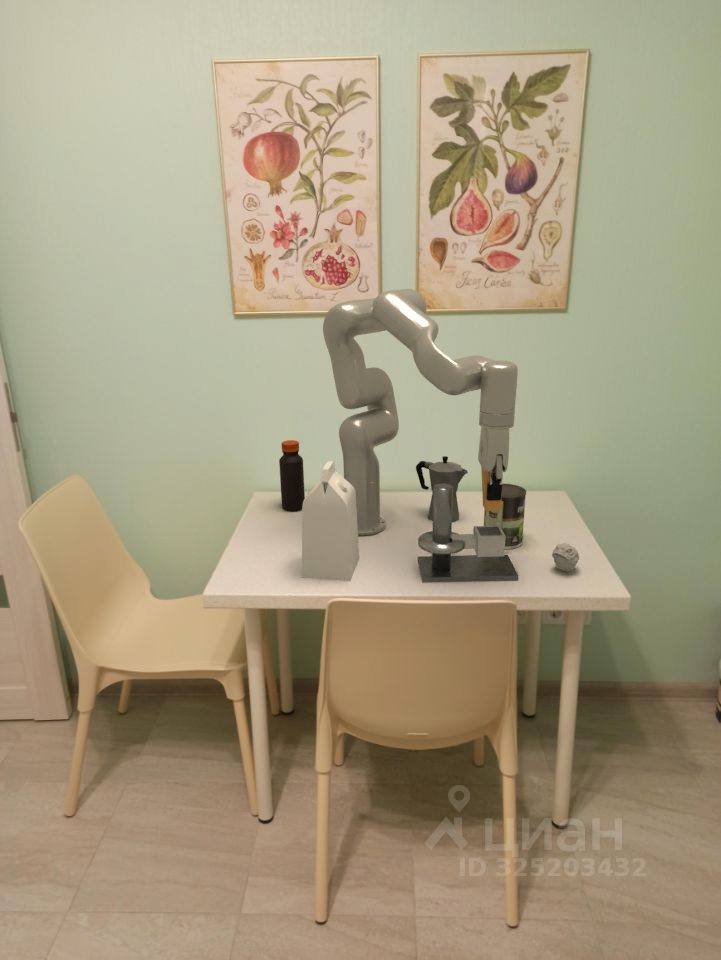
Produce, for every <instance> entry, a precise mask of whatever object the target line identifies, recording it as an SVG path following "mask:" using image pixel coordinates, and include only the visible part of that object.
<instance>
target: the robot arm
mask: <svg viewBox="0 0 721 960" xmlns="http://www.w3.org/2000/svg"><path fill="white" fill-rule="evenodd" d="M426 313H427V302H426V300H425V298H424V296H423V295H422V294H421V293H420V292H419V291H417V290H415V289H411V288H403V289H393V290H386V291H383V292H382V293H380V294H378V295H377V296H376V297H373V298H364V299H355V300H347V301H343V302H340V303H336V305H334V306H332V307H331V308H330V309H329V310H328V311H327V313H325V316H324V320H323V324H322V334H323V339H324V342H325V346H326V349H327V352H328V354H329V357H330V362H331V368H332V369H331V370H332V375H333V380H334V385H335V390H336V395H337V398H338V402H339V403H340V405H341V406H342V407H343V408H345V409H347V410H356V409H360V408H364V407H367V411H362V412H360V413H359V412H358V413H355V414H352V415H351V416H348V417H346V418H345V419H344V420H343V421H342V422H341V424H340V426H339V428H338V429H339V430H338V438H339V442H340V447H341V452H342V460H343V478H344V479H345V480H347V481H348V482H349V483H350V484H351V485H352V486H353V487H354V489H355V492H356V508H357V525H358V536H371V535H375V534H379V533H381V532H382V531H384V530H385V529H386V527H387V523H386V520H385V519H383V517H381V516H380V515H381V495H380V494H381V491H380V489H381V485H380V483H381V480H380V478H381V475H380V474H381V472H380V461H379V459H378V457H377V455H376V452H375V450H374V449H375V447H377V446H380V445H383V444H386V443H389V442H391V441H393V440H394V439H395V438H396V437H397V435H398V433H399V427H400V425H399V424H400V423H399V415H398V409H397V404H396V397H395V391H394V386H393V383H392V381H391V378H390V376H389V375H388V374H387V372H386V371H385V370H384V369H382V368H380V367H374V366H373V367H367V366H366V362H365V355H364V352H363V350H362V347H361V346H360V344H359V343H358V341H357V340H355V337H357V336H360V335H361V336H364V335H368V334H369V335H370V334H375V333H380V332H385V331H387V332H388V333H389V334H390V335H392V336H393V337H394V338H395V339H396V340H397V341H399V342H400V343H401V344H402V345H404V346H405V348H407V349H408V350H409V351H411V353H412V357H413V358H412V359H413V361H414V363H415V365H416V368H417V370H418V372H419V373H420V374H421V376H422V377H424V379H425V380H427V381H428V382H429V383H430V384H431V385H433V387H435V388H437V389H438V390H439V391H441V393H444V394H446V395H450V396H460V395H463V394H465V393H470V392H474V391H477V390H480V400H479V414H478V415H479V417H478V425H479V427H481V428H480V436H479V443H478V444H479V445H478V454H477V455H478V457H477V460H478V462H479V464H480V466H482V468H483V469H484V471H485V472H488V471H489V483H487V500H488V501H499V500H501V494H502V484H503V479H504V473H505V472H507V470H508V467H509V453H510V429H513V427H514V426H515V414H516V399H517V387H518V376H519V375H518V366H517V364H516V363H514V362H512V361H509V360H495V359H492V358H488V357H486V356H482V355H470V356H467V357H466V356H464V357H460V358H455V359H452V358H451V357H449V356H448V355H447V354H446V353H445V352H443V351H442V350H441V349H439V347H438V346H437V345H436V344H435V341H436V339H437V337H438V334H439V325H438V322H436V321H435V320H434V319H433V318H431V317H430V316H429V315H427V314H426ZM493 468H496V470H492V469H493ZM493 474H495V475H493ZM492 476H493V478H492Z"/></svg>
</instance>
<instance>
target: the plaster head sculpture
mask: <svg viewBox="0 0 721 960" xmlns="http://www.w3.org/2000/svg"><path fill="white" fill-rule="evenodd" d="M579 554H580V553H579V551H578V549H576V548H575V546H574V547H573V546H572V545H570V544H569V543H565V542H563V543H561V544H560V543H557V544H556V546H555V547H554V549H553V550H552V554H551V556H552V557H551V558H553V562H554V564H555V566H556V567H557V568H558V569H559V570H560V571H564V572H569V571H571V570H573V569H575V567H576V566H577V564H578V562H579V560H580V555H579Z"/></svg>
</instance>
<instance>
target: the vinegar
mask: <svg viewBox="0 0 721 960" xmlns="http://www.w3.org/2000/svg"><path fill="white" fill-rule="evenodd" d="M299 452H300V442H299V441H298V440H293V439H292V440H291V439H290V440H284V441H281V453H282V455H281V457H279V460H278V461H279V462H278V463H279V464H278V465H279V477H280V494H281V495H280V496H281V497H280V498H281V499H280V500H281V508H282V510H284V511H286V512H300V511H302V506H303V501H304V499H305V497H306V495H305V477H304V476H305V475H304V473H305V472H304V459H303V457H302V456H301V455H300V454H299Z"/></svg>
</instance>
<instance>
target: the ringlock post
mask: <svg viewBox="0 0 721 960" xmlns="http://www.w3.org/2000/svg"><path fill="white" fill-rule="evenodd" d="M452 505H453V486H452V485H449V484H436V485H434V487H433V521H432V530H431V531H426V532H423V533H422V534H421V535H419V536H418V538H417V545H418V547H419V548H420V549H421V551H422V550H423V551H424V552H427V553H430V554H431V555H429V556H428V555H427V556H426V555H425V556H424V555H423V556H417V565H418V568H419V572H420V573H419V575H420V578H421V582H422V583H458V582H462V583H463V582H499V581H500V582H501V581H505V582H507V581H519V574H518V572H517V570H516V568H515V566H514V564H513V562H512V560H511V558H510V556H509V554H505V552H506V551H505V550H506V549H505V539H506V536H505V534H504V532H503V531H502V529H501V527H500V526H484V525H473V533H465V534H464V533H463V534H461V533H459V532H458V533H457V532H455V531H452V530H453V529H452V528H453V523H452ZM463 550H474V552H475V554H473V555H472V554H471V555H467V554H466V555H465V554H464V555H453V554H456V553H459V552H461V551H463Z"/></svg>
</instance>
